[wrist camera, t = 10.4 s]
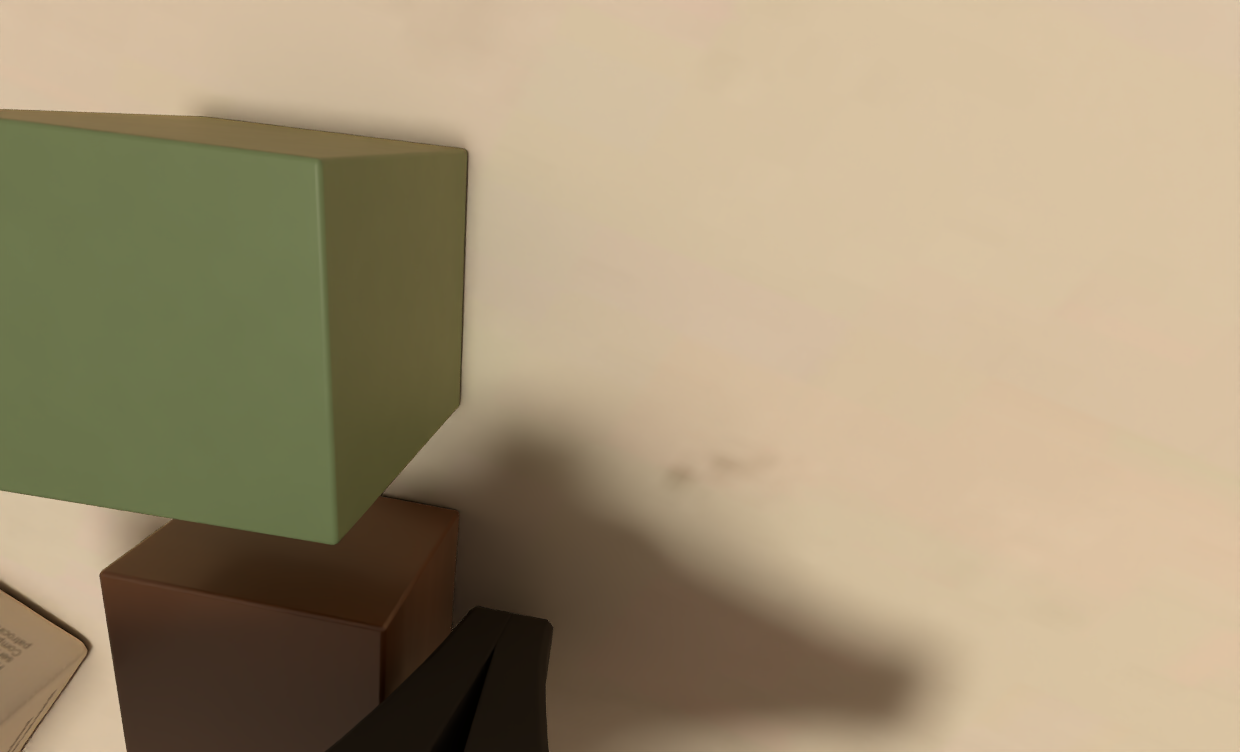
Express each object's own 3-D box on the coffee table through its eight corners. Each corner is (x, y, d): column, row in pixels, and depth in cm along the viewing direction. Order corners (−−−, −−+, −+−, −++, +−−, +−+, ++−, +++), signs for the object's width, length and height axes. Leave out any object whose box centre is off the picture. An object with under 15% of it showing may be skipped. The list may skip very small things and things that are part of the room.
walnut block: (448, 686, 13) (378, 839, 10) (250, 646, 13) (129, 785, 10) (461, 509, 12) (384, 630, 9) (239, 467, 12) (96, 571, 9)
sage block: (460, 406, 11) (336, 548, 7) (227, 371, 11) (-11, 491, 7) (467, 148, 10) (321, 158, 6) (201, 116, 10) (-106, 105, 6)
